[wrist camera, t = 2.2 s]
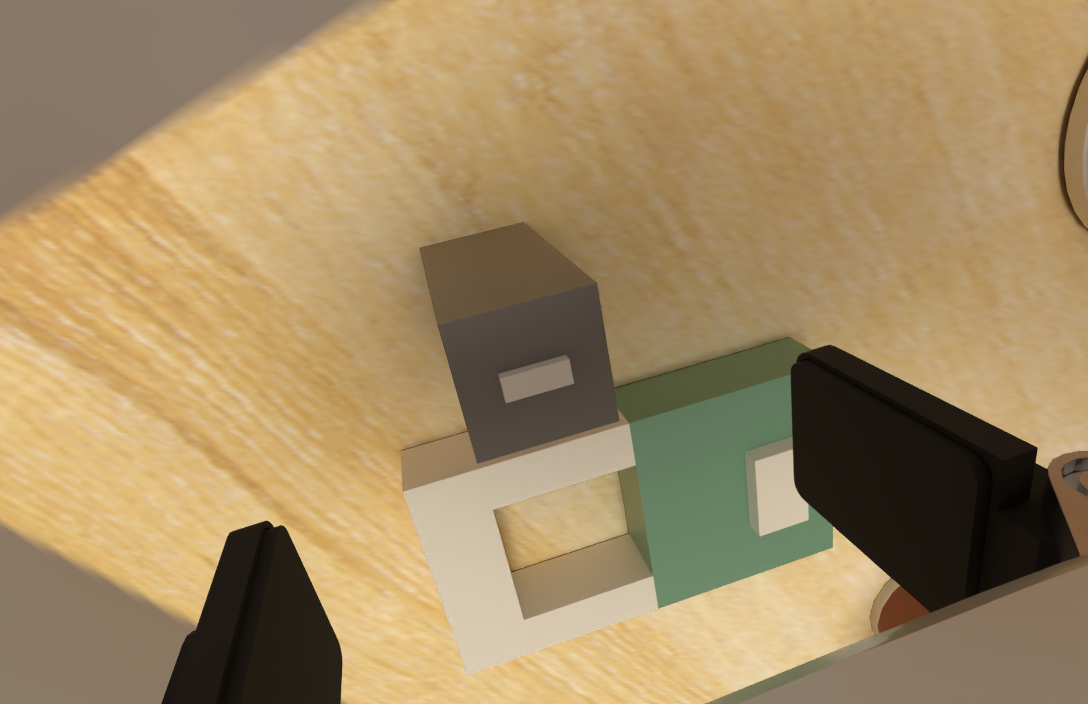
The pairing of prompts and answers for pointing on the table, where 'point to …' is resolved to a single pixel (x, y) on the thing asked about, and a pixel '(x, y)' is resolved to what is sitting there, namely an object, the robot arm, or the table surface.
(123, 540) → the table surface
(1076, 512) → the robot arm
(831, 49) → the table surface
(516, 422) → the grey square peg
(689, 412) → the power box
